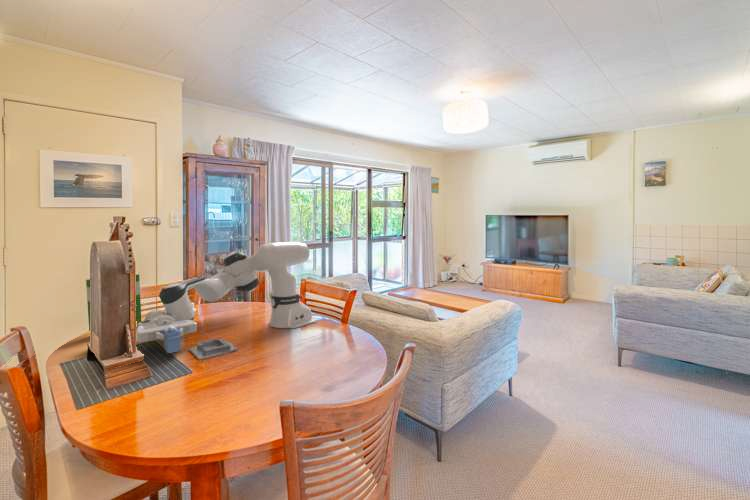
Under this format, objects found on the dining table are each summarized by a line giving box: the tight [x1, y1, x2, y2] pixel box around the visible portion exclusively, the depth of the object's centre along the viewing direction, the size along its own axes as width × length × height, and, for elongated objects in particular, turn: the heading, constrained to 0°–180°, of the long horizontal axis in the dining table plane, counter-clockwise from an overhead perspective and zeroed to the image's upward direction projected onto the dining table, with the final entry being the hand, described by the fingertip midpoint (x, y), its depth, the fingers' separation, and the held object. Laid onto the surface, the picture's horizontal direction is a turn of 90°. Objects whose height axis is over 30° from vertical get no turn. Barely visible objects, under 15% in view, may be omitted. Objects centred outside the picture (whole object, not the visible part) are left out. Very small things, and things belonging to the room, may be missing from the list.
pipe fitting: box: [190, 301, 197, 313], centre depth 181 cm, size 6×7×8 cm
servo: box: [163, 326, 182, 354], centre depth 136 cm, size 4×8×9 cm, turn 41°
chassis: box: [189, 337, 239, 361], centre depth 142 cm, size 14×12×2 cm
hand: (172, 335), depth 135 cm, fingers closed on servo, 4 cm apart
